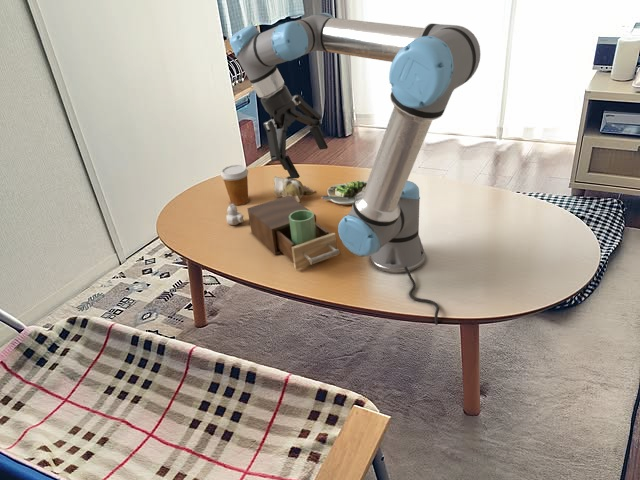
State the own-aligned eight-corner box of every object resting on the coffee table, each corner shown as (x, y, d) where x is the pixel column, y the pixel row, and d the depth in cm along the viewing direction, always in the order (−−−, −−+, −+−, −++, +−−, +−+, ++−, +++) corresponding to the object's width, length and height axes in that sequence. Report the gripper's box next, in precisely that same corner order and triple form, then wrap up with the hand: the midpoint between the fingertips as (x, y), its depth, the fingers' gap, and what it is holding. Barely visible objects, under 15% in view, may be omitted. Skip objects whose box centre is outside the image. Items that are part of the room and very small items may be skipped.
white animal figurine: (232, 219, 190) (228, 197, 186) (249, 222, 188) (245, 200, 183) (223, 226, 187) (219, 204, 182) (240, 229, 184) (235, 207, 179)
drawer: (348, 263, 159) (346, 242, 155) (306, 279, 154) (303, 257, 150) (310, 233, 176) (307, 213, 171) (271, 246, 171) (267, 226, 167)
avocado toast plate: (325, 212, 188) (324, 199, 186) (317, 191, 203) (316, 179, 200) (381, 203, 190) (381, 191, 187) (369, 183, 204) (369, 171, 202)
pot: (321, 250, 164) (318, 216, 158) (300, 258, 162) (296, 223, 155) (310, 240, 169) (306, 207, 163) (289, 248, 167) (284, 214, 160)
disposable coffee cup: (258, 198, 202) (253, 166, 195) (241, 209, 196) (235, 176, 189) (237, 194, 207) (232, 162, 200) (221, 204, 201) (214, 172, 193)
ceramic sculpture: (283, 166, 201) (317, 176, 194) (285, 188, 206) (318, 198, 199) (264, 177, 194) (298, 187, 187) (266, 200, 200) (300, 211, 193)
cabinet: (318, 240, 173) (315, 214, 168) (275, 255, 168) (271, 229, 163) (292, 219, 186) (289, 195, 181) (251, 233, 181) (247, 208, 176)
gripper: (291, 68, 150) (325, 138, 162) (232, 120, 139) (274, 190, 151) (310, 63, 145) (344, 135, 157) (251, 116, 134) (292, 189, 146)
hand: (310, 162), depth 154 cm, fingers open, 13 cm apart
